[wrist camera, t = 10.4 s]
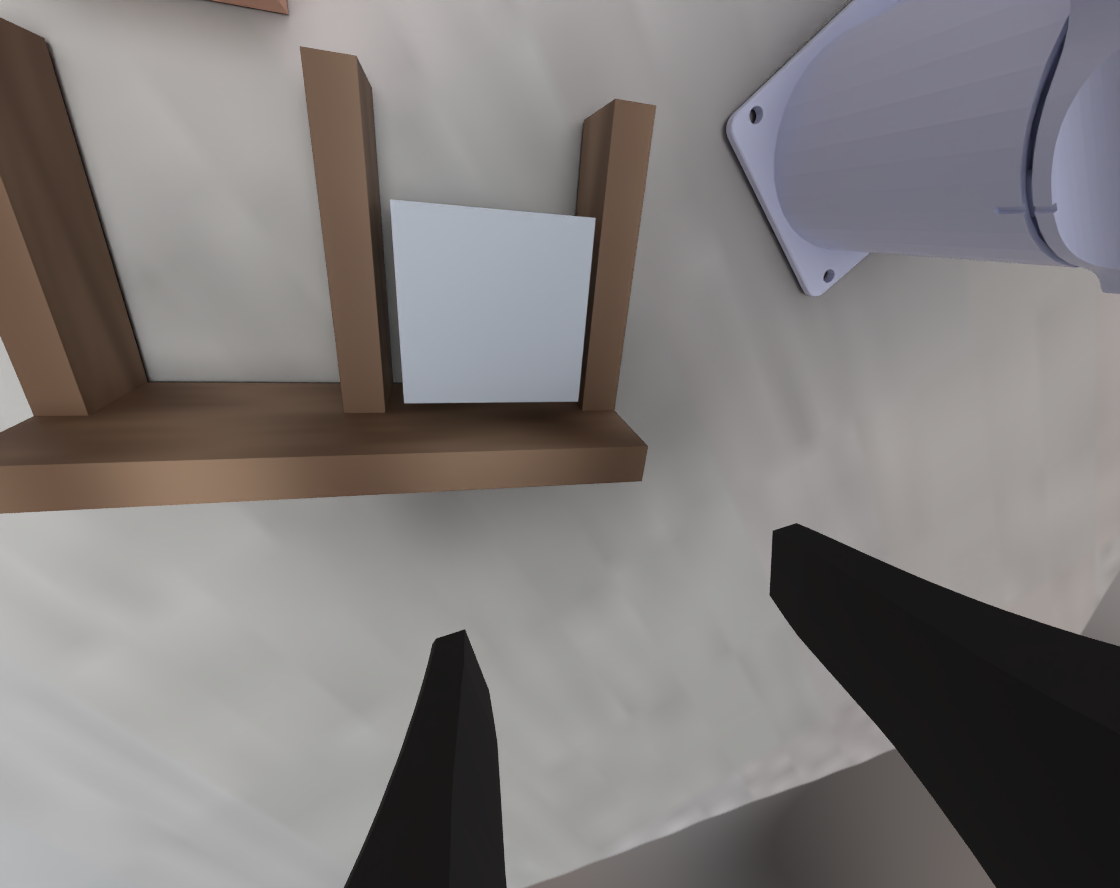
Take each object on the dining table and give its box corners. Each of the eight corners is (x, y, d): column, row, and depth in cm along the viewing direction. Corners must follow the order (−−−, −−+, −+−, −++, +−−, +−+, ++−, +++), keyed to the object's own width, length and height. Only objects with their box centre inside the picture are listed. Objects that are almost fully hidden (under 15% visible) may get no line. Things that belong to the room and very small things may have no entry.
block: (552, 218, 16) (595, 218, 12) (544, 358, 18) (578, 401, 14) (403, 205, 15) (389, 199, 11) (412, 356, 17) (404, 403, 13)
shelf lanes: (618, 125, 15) (712, 75, 10) (586, 411, 20) (641, 480, 14) (-17, 28, 11) (-407, -137, 6) (115, 416, 16) (-48, 515, 10)
